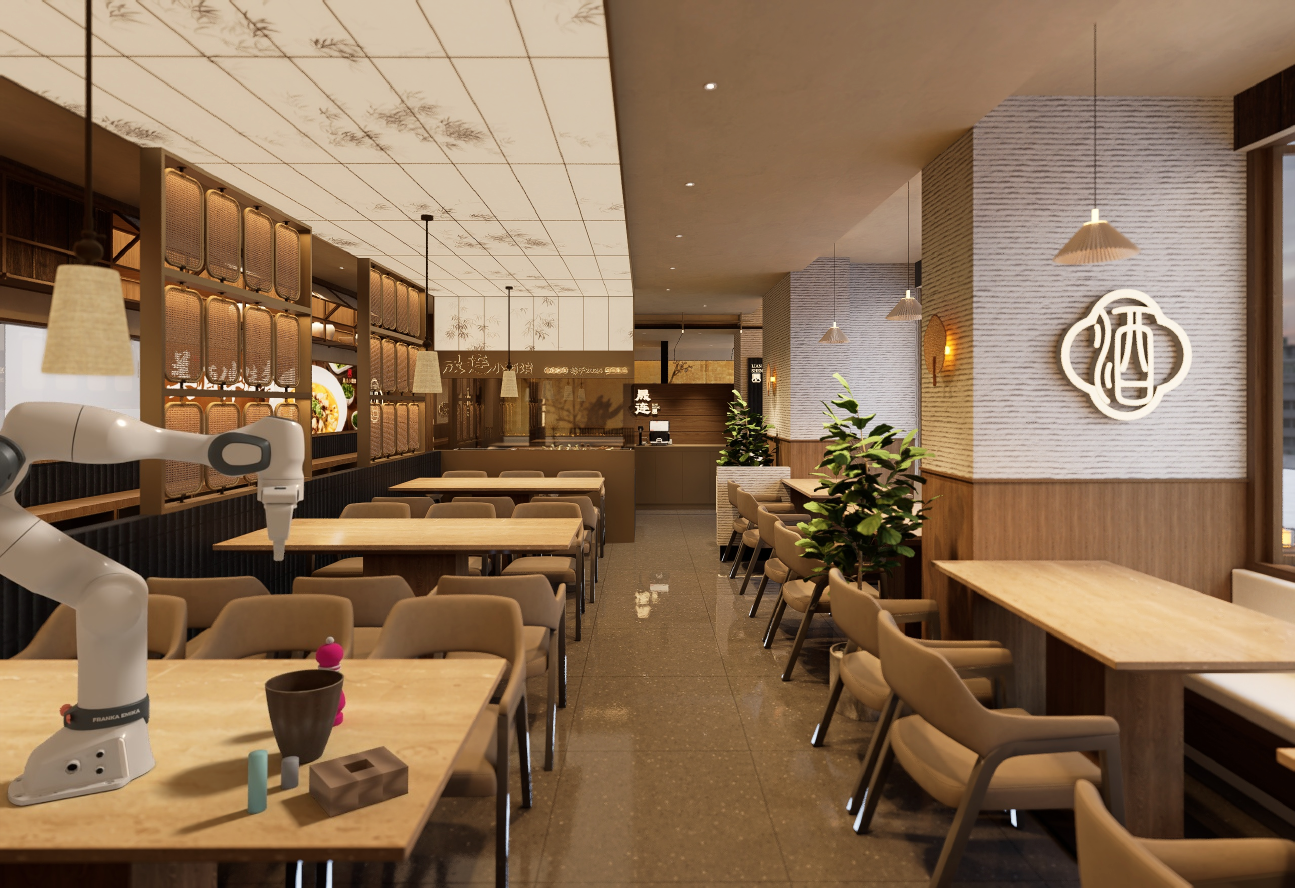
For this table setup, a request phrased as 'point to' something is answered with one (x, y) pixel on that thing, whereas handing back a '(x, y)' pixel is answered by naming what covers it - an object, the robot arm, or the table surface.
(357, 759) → the walnut block
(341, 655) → the pepper mill
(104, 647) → the robot arm
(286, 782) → the charcoal dowel
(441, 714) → the table surface
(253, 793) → the teal dowel
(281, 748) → the plant pot
